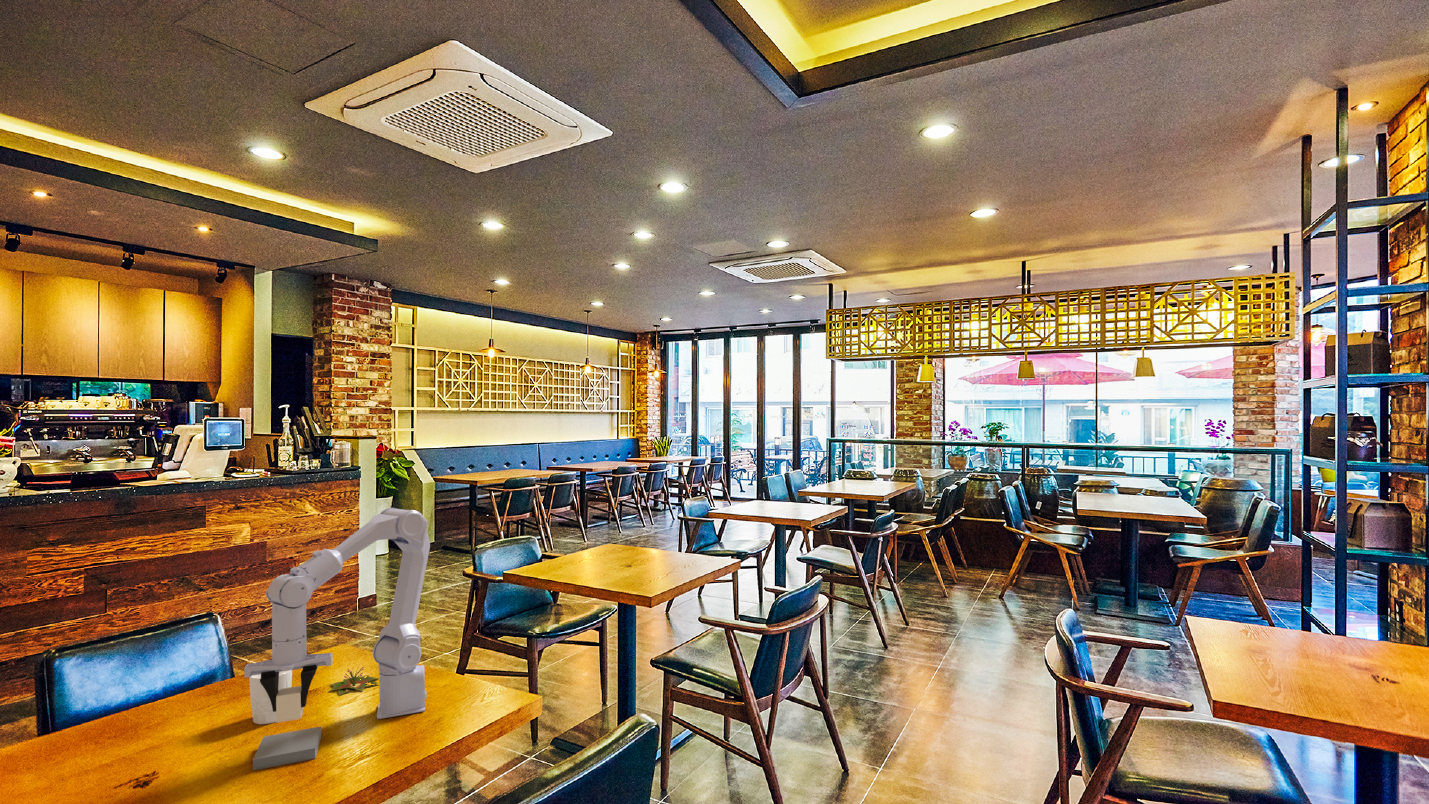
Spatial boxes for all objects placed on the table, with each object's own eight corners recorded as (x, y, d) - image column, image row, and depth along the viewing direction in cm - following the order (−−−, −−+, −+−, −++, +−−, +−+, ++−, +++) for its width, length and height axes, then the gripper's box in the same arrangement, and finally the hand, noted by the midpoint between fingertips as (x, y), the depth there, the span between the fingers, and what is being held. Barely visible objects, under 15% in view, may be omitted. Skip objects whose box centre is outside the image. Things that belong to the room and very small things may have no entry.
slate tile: (321, 736, 140) (321, 726, 140) (315, 758, 131) (315, 748, 131) (263, 746, 136) (263, 736, 136) (253, 770, 127) (252, 759, 127)
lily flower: (320, 687, 167) (319, 668, 167) (373, 674, 175) (372, 655, 175) (333, 702, 158) (333, 682, 158) (388, 687, 166) (388, 668, 166)
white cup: (271, 727, 145) (271, 679, 145) (240, 724, 146) (239, 677, 146) (301, 711, 152) (301, 665, 152) (271, 708, 154) (270, 663, 154)
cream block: (303, 710, 137) (303, 685, 137) (300, 718, 133) (300, 692, 133) (280, 714, 135) (279, 688, 135) (276, 722, 132) (276, 696, 132)
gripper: (240, 649, 128) (240, 723, 127) (329, 637, 134) (330, 708, 133) (248, 638, 134) (249, 708, 134) (333, 627, 140) (333, 695, 140)
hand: (289, 707), depth 134 cm, fingers closed on cream block, 4 cm apart
